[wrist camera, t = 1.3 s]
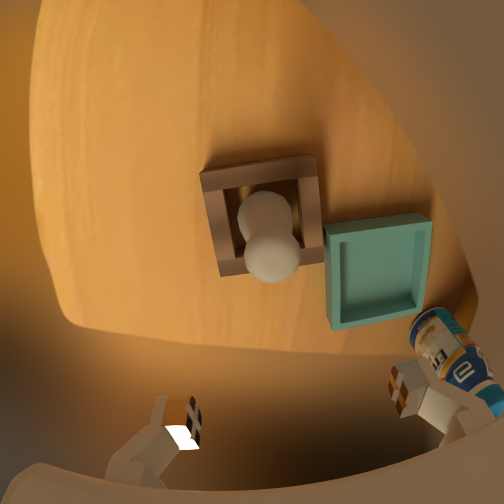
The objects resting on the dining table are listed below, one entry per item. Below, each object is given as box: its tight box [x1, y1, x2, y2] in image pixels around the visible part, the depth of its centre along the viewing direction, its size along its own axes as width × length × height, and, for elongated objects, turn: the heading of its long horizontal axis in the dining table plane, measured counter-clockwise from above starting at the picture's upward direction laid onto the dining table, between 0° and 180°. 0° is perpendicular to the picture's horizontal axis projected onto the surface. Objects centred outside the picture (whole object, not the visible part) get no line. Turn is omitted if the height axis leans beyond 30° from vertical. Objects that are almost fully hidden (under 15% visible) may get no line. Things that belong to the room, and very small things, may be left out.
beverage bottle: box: [409, 307, 504, 419], centre depth 32 cm, size 8×8×20 cm
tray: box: [323, 212, 432, 331], centre depth 35 cm, size 13×13×4 cm
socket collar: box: [199, 154, 324, 277], centre depth 32 cm, size 12×12×3 cm
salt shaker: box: [237, 191, 301, 283], centre depth 28 cm, size 6×6×13 cm
